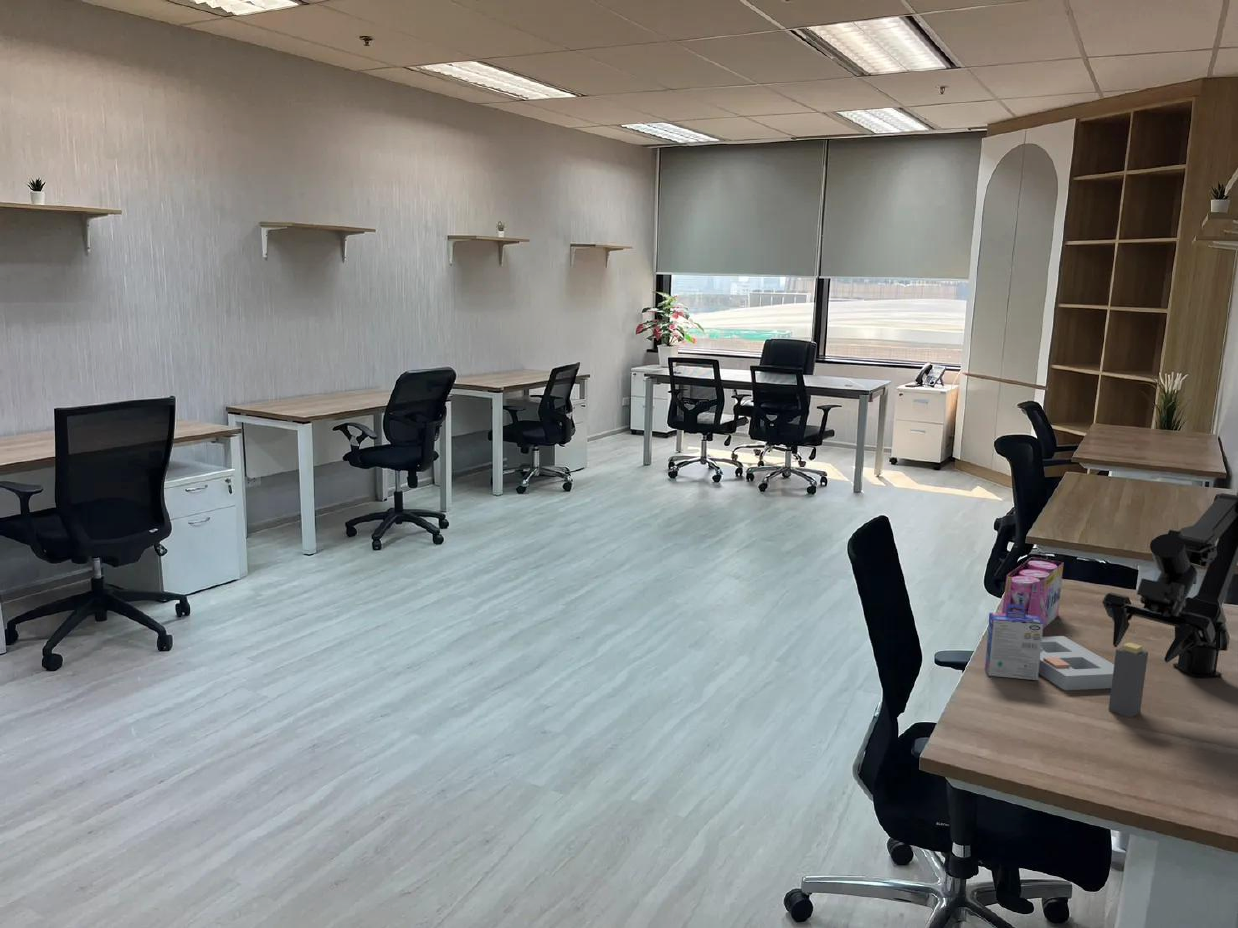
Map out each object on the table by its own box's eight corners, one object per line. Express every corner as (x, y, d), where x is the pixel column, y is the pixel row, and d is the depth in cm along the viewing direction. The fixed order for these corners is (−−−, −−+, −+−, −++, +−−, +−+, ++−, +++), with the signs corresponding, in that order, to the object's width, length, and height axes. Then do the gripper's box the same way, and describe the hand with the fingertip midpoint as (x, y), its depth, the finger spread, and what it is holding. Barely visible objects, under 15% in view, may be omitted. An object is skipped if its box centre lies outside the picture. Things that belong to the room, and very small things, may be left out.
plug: (1118, 704, 177) (1126, 640, 175) (1140, 712, 174) (1148, 646, 172) (1108, 709, 175) (1116, 644, 173) (1130, 717, 172) (1139, 651, 169)
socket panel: (1061, 648, 206) (1063, 633, 205) (1127, 687, 186) (1129, 670, 185) (1004, 651, 204) (1005, 635, 203) (1064, 690, 183) (1066, 673, 183)
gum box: (1032, 640, 211) (1039, 583, 208) (996, 632, 216) (1002, 576, 213) (1058, 615, 229) (1064, 562, 227) (1025, 607, 234) (1030, 556, 232)
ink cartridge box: (1032, 671, 193) (1040, 604, 190) (1039, 681, 187) (1047, 613, 185) (982, 666, 195) (989, 600, 192) (987, 676, 189) (994, 608, 187)
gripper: (1112, 552, 182) (1079, 616, 178) (1218, 575, 168) (1184, 645, 163) (1125, 584, 189) (1093, 647, 184) (1228, 609, 174) (1196, 678, 169)
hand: (1139, 653), depth 175 cm, fingers open, 9 cm apart
